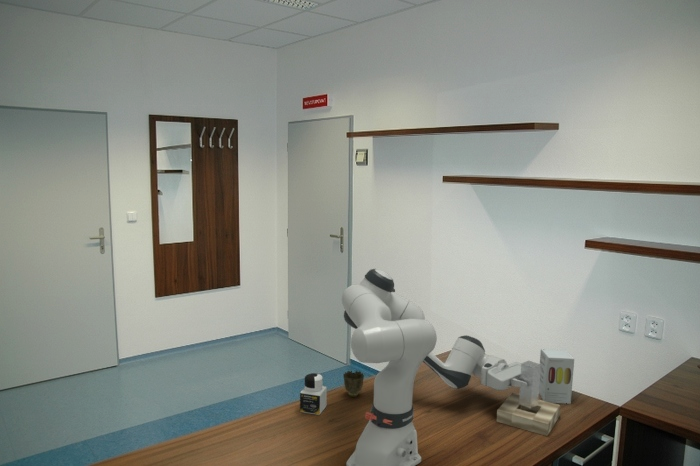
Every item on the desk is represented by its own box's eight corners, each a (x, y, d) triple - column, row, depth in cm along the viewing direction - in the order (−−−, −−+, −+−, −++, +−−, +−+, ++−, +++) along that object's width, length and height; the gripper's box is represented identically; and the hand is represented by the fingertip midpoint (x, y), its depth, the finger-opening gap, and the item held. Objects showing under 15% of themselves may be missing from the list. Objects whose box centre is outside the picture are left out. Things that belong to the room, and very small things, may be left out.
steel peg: (530, 408, 171) (533, 367, 169) (518, 404, 174) (521, 363, 172) (538, 405, 174) (540, 364, 172) (526, 400, 177) (528, 360, 175)
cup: (364, 391, 193) (364, 370, 192) (362, 400, 186) (363, 378, 185) (344, 390, 194) (344, 369, 193) (342, 399, 186) (342, 377, 185)
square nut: (547, 436, 163) (548, 424, 162) (496, 421, 172) (497, 410, 171) (559, 416, 176) (560, 405, 175) (511, 403, 185) (512, 392, 184)
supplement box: (544, 402, 186) (547, 357, 184) (536, 391, 195) (539, 348, 193) (571, 404, 185) (575, 358, 183) (563, 392, 194) (566, 349, 192)
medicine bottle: (299, 412, 176) (299, 378, 175) (307, 403, 183) (307, 370, 181) (319, 415, 174) (319, 380, 173) (326, 406, 181) (327, 372, 179)
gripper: (512, 372, 190) (548, 384, 179) (478, 386, 176) (514, 400, 166) (513, 355, 189) (549, 366, 178) (479, 368, 176) (515, 381, 165)
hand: (532, 383), depth 172 cm, fingers closed on steel peg, 4 cm apart
